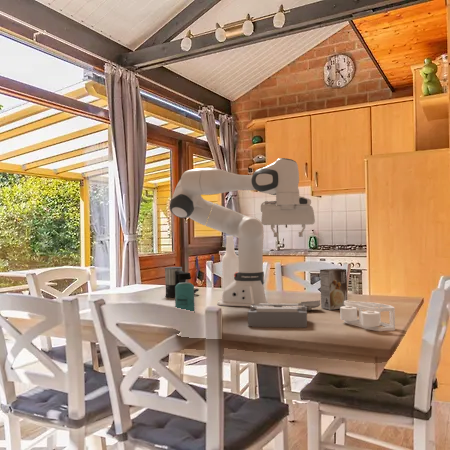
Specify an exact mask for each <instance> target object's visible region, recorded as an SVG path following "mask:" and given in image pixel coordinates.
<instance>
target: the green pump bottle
mask: <svg viewBox="0 0 450 450" xmlns="http://www.w3.org/2000/svg"><path fill="white" fill-rule="evenodd" d="M178 279H179V280H186V281H187V280H191V279H192V277H191V272H185V271H184V273H179V277H178ZM194 289H195V285H194V284H193V283H191V282H185V283H178V284H177V285H176V286H175V297H174V298H175V299H174V303H175V306H174V308H175V307H177V308H181V309H186V310H190V311H194V312H195V305H196V304H195V294H194Z"/></svg>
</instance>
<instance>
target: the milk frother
mask: <svg viewBox="0 0 450 450" xmlns="http://www.w3.org/2000/svg"><path fill="white" fill-rule="evenodd" d="M184 272H185V271H183V267H182V266H169V267H167V266H166V267H164V274H165V275H164V276H165V279H164V280H165V295H164V296H165V297H166V298H175V286H176V285H177V284H178V283H185V282H186V281H187V280H179V279H178V277H179V273H184ZM186 283H187V282H186ZM198 291H200V290H199V288H194V295H195V293H197V292H198Z"/></svg>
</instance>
